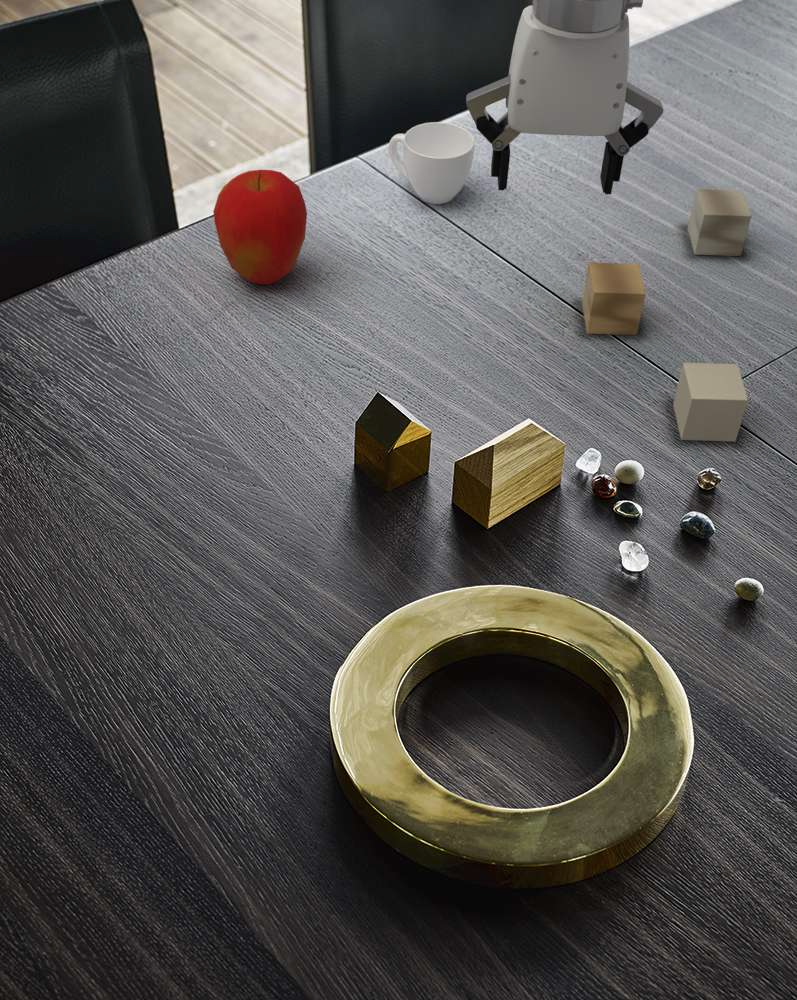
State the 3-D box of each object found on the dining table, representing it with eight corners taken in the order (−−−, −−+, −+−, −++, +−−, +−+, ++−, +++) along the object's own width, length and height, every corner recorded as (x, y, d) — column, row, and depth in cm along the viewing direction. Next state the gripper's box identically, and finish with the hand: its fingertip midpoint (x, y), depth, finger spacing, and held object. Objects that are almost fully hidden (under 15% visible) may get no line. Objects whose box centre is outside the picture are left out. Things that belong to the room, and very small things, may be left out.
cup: (450, 220, 137) (454, 165, 132) (371, 193, 141) (372, 139, 136) (482, 188, 142) (487, 134, 137) (405, 163, 145) (407, 109, 141)
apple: (280, 240, 133) (276, 138, 125) (325, 283, 128) (324, 179, 120) (202, 267, 130) (193, 163, 121) (246, 312, 125) (239, 206, 116)
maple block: (630, 304, 127) (639, 263, 124) (637, 335, 124) (645, 293, 120) (581, 303, 127) (588, 262, 124) (586, 333, 124) (594, 292, 120)
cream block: (726, 405, 117) (738, 363, 113) (735, 442, 113) (748, 400, 110) (672, 404, 117) (683, 362, 113) (680, 440, 113) (691, 398, 110)
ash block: (732, 230, 138) (742, 190, 134) (740, 256, 134) (751, 216, 131) (687, 228, 138) (696, 188, 134) (694, 255, 134) (704, 214, 131)
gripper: (676, -13, 106) (641, 167, 119) (473, -21, 106) (459, 159, 118) (689, 27, 101) (651, 210, 113) (475, 18, 101) (460, 203, 113)
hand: (553, 184), depth 116 cm, fingers open, 9 cm apart
